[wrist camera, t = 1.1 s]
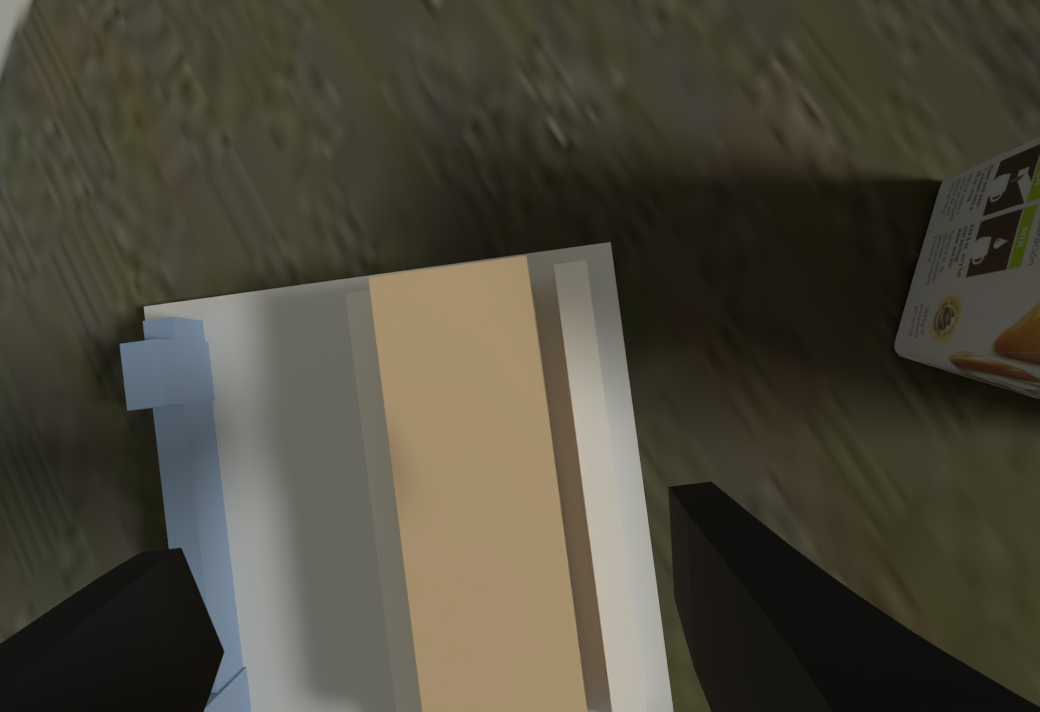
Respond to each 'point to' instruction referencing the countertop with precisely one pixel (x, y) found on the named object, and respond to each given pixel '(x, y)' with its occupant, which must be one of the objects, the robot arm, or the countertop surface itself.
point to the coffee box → (981, 276)
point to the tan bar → (477, 489)
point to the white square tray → (376, 489)
